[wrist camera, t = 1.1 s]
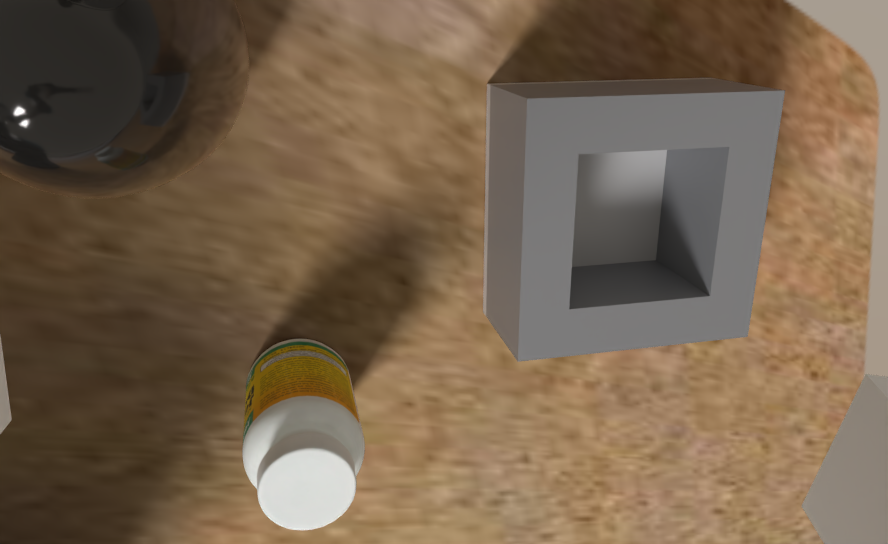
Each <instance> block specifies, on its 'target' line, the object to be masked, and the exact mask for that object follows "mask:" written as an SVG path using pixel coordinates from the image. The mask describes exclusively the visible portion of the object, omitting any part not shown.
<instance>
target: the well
mask: <svg viewBox="0 0 888 544" xmlns="http://www.w3.org/2000/svg"><path fill="white" fill-rule="evenodd" d="M784 94H785V90H779V89H773V88H768V87H762V86H756V85H750V84H744V83H739V82H733V81H727V80H721V79H716V78H677V79H640V80H602V81H565V82H528V83H490V84H487V114H486V173H485V231H484V289H483V313H484V314H485V315H486V317H487V318H488V320H489V321H490V322H491V324H492V325H493V327H494V328H495V330H496V331H497V332H498V334H499V335H500V337H501V338H502V340H503V341H504V342H505V344H506V345H507V347H508V348H509V350H510V351H511V352H512V354H513V355H514V357H515V358H516V360H517V361H527V360H537V359H546V358H555V357H564V356H574V355H583V354H592V353H601V352H611V351H620V350H629V349H638V348H648V347H657V346H666V345H675V344H685V343H694V342H703V341H712V340H722V339H731V338H740V337H748V331H749V324H750V317H751V311H752V304H753V298H754V291H755V285H756V278H757V271H758V265H759V258H760V252H761V245H762V239H763V232H764V225H765V219H766V212H767V206H768V199H769V193H770V186H771V179H772V173H773V166H774V160H775V153H776V147H777V140H778V133H779V127H780V120H781V114H782V107H783V101H784Z"/></svg>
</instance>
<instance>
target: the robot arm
mask: <svg viewBox="0 0 888 544" xmlns="http://www.w3.org/2000/svg"><path fill="white" fill-rule="evenodd" d="M11 420H12V418H11V411H10V403H9V396H8V388H7V381H6V373H5V366H4V358H3V351H2V343H1V336H0V434H1V433H2V431H3V430H4V429H5V428H6V426H7V425H8V424H9V423H10V422H11ZM802 508H803V509H804V511H805V513H806V514H807V516H808V518H809V519H810V521H811V523H812V524H813V526H814V528H815V529H816V531H817V532H818V534H819V536H820V537H821V539H822V541H823V542H824V544H888V377H886V376H878V375H870V374H866V375H865V377H864V379H863V381H862V383H861V385H860V387H859V389H858V391H857V393H856V395H855V397H854V399H853V401H852V403H851V405H850V407H849V410H848V412H847V414H846V416H845V418H844V420H843V422H842V424H841V426H840V428H839V430H838V432H837V434H836V436H835V438H834V440H833V442H832V444H831V447H830V449H829V451H828V453H827V455H826V457H825V459H824V461H823V463H822V465H821V467H820V469H819V471H818V473H817V475H816V477H815V479H814V481H813V484H812V486H811V488H810V490H809V492H808V494H807V496H806V498H805V500H804V502H803V504H802Z"/></svg>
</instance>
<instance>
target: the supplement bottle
mask: <svg viewBox="0 0 888 544" xmlns="http://www.w3.org/2000/svg"><path fill="white" fill-rule="evenodd" d="M364 452H365V442H364V436H363V432H362V427H361V423H360V419H359V415H358V410H357V405H356V401H355V396H354V392H353V387H352V383H351V378H350V374H349V370H348V368H347V366H346V364H345V362H344V360H343V359H342V358H341V356H340V355H339V354H338V353H336V352H335V351H334V350H333V349H331V348H330V347H328V346H326V345H324V344H323V343H320V342H318V341H315V340H310V339H291V340H286V341H283V342H280V343H277V344H275V345H273V346H271V347H270V348H269V349H267V350H266V351H265V352H263V353H262V354H261V355H260V356H259V358H258V359H257V360H256V361H255V363H254V364H253V366H252V368H251V370H250V372H249V374H248V378H247V383H246V401H245V418H244V434H243V463H244V468H245V471H246V473H247V476H248V478H249V479H250V481H251V482H252V484H253V485H254V486H255V487H256V489H257V492H258V500H259V503H260V506H261V508H262V510H263V512H264V513H265V514H266V515H267V517H268V518H269V519H271V520H272V521H273V522H275V523H277V524H278V525H280V526H282V527H285V528H288V529H293V530H311V529H316V528H320V527H323V526H325V525H327V524H329V523H332V522H333V521H335V520H336V519H337V518H339V517H340V516H341V515H342V514H343V513H344V512H345V511H346V510H347V509H348V507H349V506H350V504H351V503H352V501H353V498H354V495H355V491H356V475H357V474H358V472H359V470H360V468H361V465H362V462H363V458H364Z"/></svg>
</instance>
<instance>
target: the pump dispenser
mask: <svg viewBox="0 0 888 544" xmlns="http://www.w3.org/2000/svg"><path fill="white" fill-rule="evenodd" d="M248 79H249V49H248V42H247V36H246V32H245V28H244V24H243V21H242V18H241V15H240V12H239V10H238V8H237V5H236V3H235V1H234V0H0V173H1V174H3V175H5V176H7V177H9V178H11V179H13V180H15V181H17V182H19V183H22V184H24V185H27V186H29V187H32V188H35V189H38V190H41V191H44V192H48V193H52V194H57V195H62V196H68V197H76V198H94V199H97V198H114V197H122V196H128V195H133V194H137V193H141V192H144V191H148V190H151V189H154V188H156V187H159V186H161V185H164V184H166V183H168V182H170V181H172V180H175V179H176V178H178V177H180V176H182V175H184V174H186V173H187V172H189V171H190V170H192V169H193V168H195V167H196V166H198V165H199V164H200V163H202V162H203V161H204V160H205V159H206V158H208V157H209V156H210V155H211V154H212V153H213V152H214V151H215V150H216V149H217V148H218V147H219V145H220V144H221V143H222V142H223V140H224V139H225V138H226V136H227V135H228V134H229V132H230V130H231V129H232V127H233V125H234V124H235V122H236V120H237V118H238V115H239V113H240V111H241V108H242V105H243V102H244V99H245V95H246V91H247V86H248Z"/></svg>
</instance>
